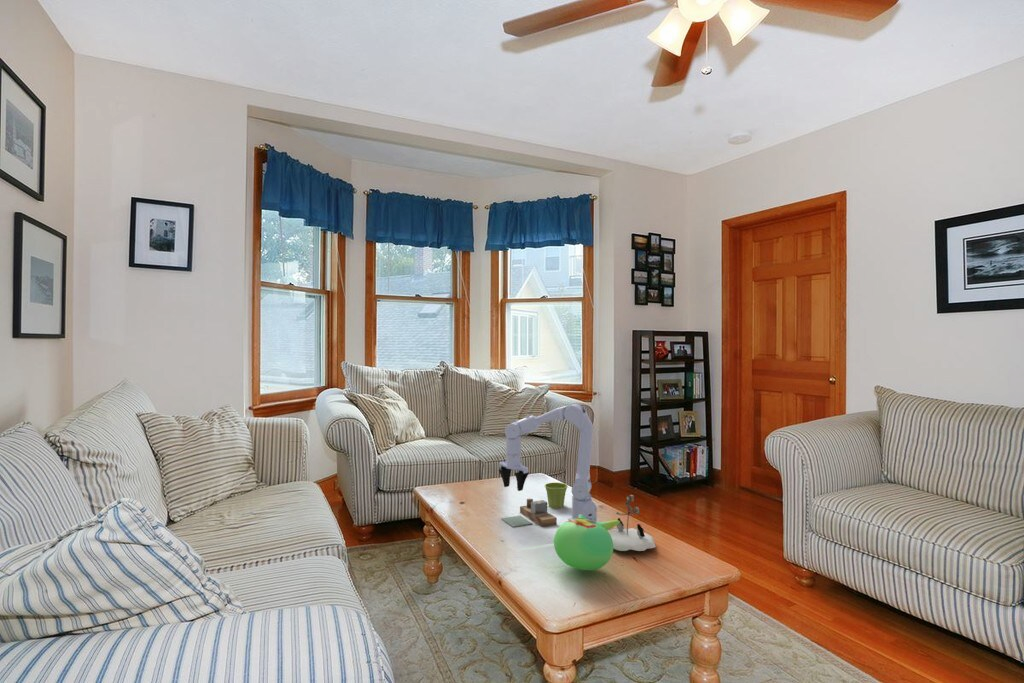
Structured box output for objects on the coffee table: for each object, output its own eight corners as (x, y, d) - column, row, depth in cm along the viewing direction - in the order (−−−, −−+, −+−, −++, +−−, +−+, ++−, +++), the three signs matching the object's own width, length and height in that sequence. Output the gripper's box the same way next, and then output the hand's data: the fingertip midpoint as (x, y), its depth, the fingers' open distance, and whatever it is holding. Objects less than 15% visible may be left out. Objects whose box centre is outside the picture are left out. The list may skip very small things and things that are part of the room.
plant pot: (568, 510, 213) (568, 488, 213) (545, 510, 213) (545, 488, 213) (566, 503, 222) (566, 482, 222) (544, 503, 222) (544, 482, 222)
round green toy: (543, 565, 159) (543, 516, 159) (578, 550, 171) (578, 504, 171) (591, 585, 146) (591, 531, 146) (626, 567, 158) (626, 517, 158)
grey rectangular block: (547, 512, 202) (547, 502, 202) (535, 514, 199) (535, 504, 199) (542, 510, 204) (542, 499, 204) (530, 512, 202) (530, 501, 202)
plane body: (556, 524, 196) (556, 509, 196) (542, 526, 193) (542, 511, 193) (533, 510, 212) (533, 496, 212) (520, 512, 209) (520, 498, 209)
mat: (532, 524, 196) (532, 523, 196) (512, 527, 192) (512, 526, 192) (520, 516, 205) (520, 515, 205) (501, 519, 201) (501, 518, 201)
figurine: (587, 536, 184) (587, 489, 185) (632, 530, 191) (632, 484, 191) (618, 557, 166) (618, 505, 166) (667, 550, 172) (667, 499, 172)
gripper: (533, 455, 206) (533, 490, 206) (508, 449, 216) (508, 483, 216) (521, 457, 201) (520, 493, 201) (495, 452, 211) (495, 486, 211)
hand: (513, 488), depth 208 cm, fingers open, 7 cm apart
